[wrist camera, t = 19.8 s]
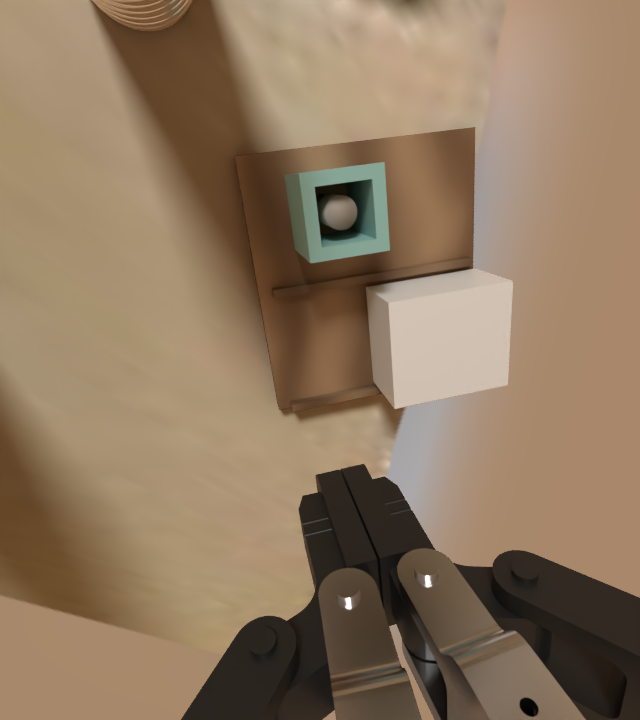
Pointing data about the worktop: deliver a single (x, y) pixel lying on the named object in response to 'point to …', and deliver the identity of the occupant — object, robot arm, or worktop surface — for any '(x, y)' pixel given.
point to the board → (353, 274)
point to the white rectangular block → (439, 335)
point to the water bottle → (145, 12)
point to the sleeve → (368, 227)
